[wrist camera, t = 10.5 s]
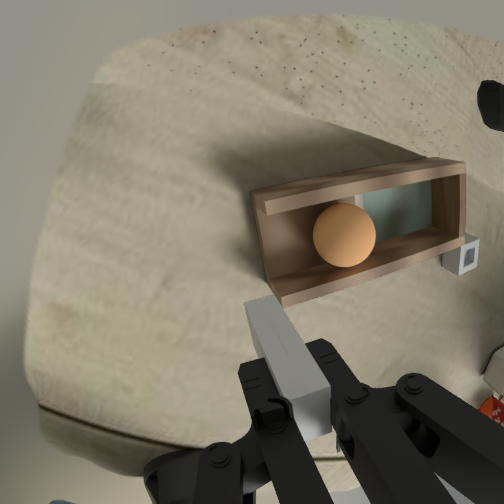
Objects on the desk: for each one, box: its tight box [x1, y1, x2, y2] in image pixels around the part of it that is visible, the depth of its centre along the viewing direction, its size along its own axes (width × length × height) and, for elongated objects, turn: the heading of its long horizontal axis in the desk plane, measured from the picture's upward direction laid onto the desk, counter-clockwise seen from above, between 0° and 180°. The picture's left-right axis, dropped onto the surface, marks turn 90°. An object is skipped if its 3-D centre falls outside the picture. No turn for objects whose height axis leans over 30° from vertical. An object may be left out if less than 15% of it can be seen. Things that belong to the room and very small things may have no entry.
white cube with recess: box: [442, 233, 480, 276], centre depth 32 cm, size 4×4×3 cm
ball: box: [313, 203, 376, 267], centre depth 25 cm, size 5×5×5 cm
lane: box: [250, 157, 466, 308], centre depth 26 cm, size 20×8×4 cm, turn 101°
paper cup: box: [479, 396, 504, 426], centre depth 47 cm, size 8×8×14 cm
